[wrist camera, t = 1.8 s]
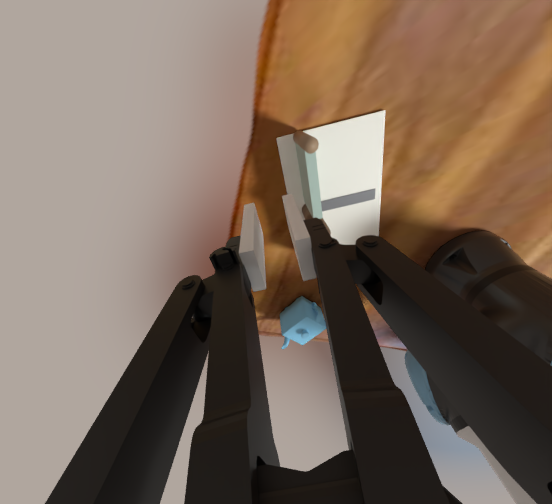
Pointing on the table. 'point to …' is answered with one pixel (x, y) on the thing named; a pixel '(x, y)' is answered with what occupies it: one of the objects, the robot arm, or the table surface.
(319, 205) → the swing panel
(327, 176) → the card
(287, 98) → the table surface
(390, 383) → the robot arm
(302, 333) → the teapot
